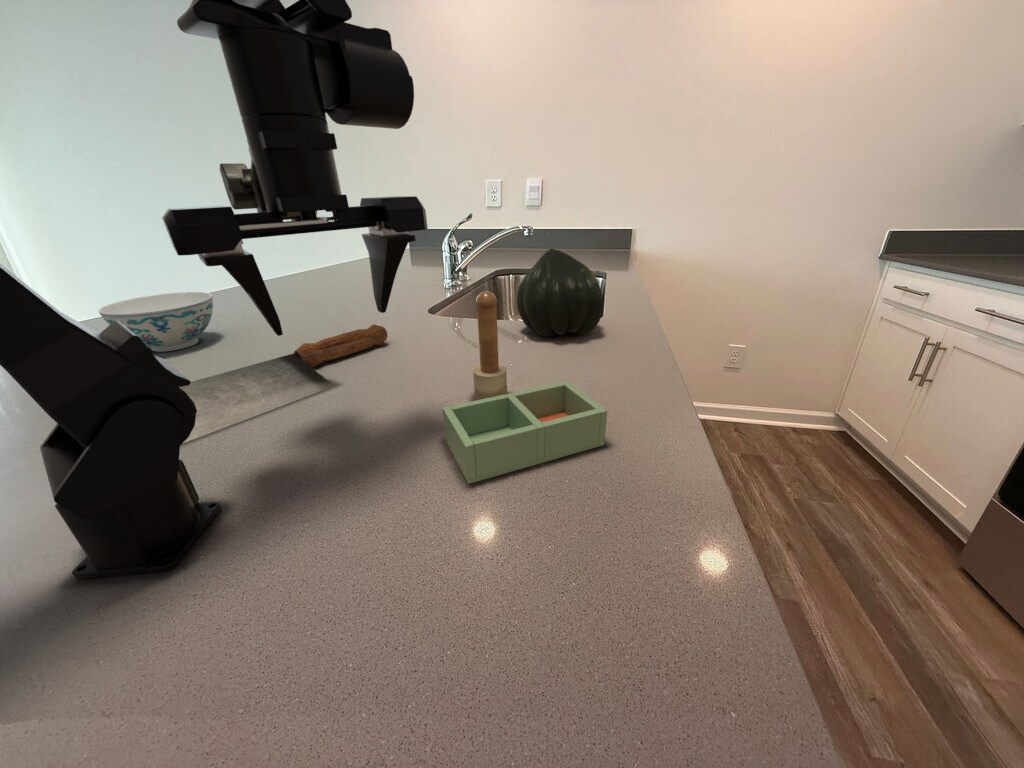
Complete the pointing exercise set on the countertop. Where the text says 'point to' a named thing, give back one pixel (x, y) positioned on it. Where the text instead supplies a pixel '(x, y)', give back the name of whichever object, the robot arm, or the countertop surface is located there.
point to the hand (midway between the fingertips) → (334, 322)
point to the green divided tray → (522, 429)
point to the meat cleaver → (271, 381)
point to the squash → (559, 296)
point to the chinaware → (163, 318)
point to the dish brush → (488, 351)
